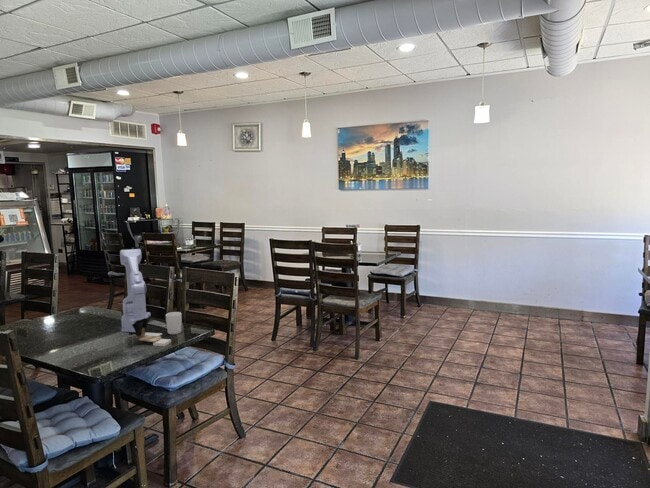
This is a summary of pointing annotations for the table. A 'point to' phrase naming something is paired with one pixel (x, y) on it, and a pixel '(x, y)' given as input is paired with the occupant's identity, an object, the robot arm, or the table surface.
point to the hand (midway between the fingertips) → (141, 334)
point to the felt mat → (153, 334)
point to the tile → (162, 342)
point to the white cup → (174, 322)
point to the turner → (147, 337)
